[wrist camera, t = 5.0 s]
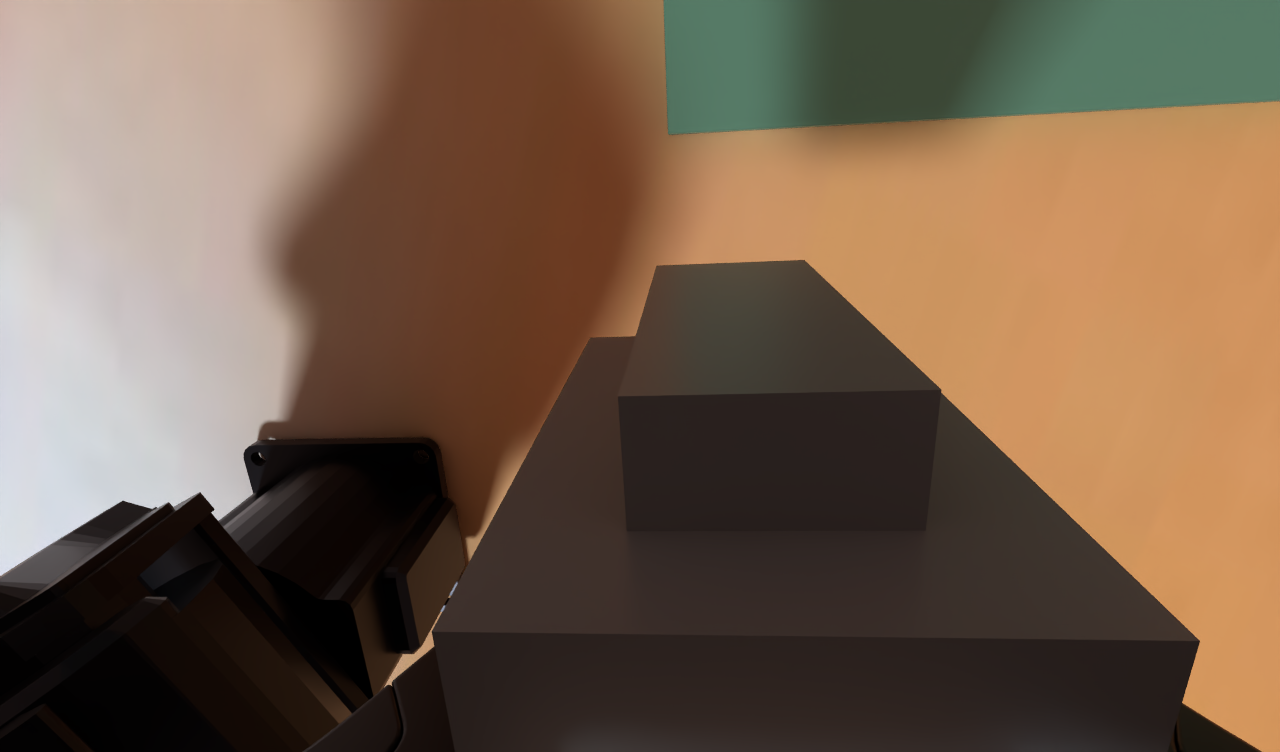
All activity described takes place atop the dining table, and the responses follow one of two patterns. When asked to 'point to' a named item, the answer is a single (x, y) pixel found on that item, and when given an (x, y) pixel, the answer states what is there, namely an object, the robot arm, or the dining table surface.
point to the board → (958, 59)
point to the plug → (789, 558)
